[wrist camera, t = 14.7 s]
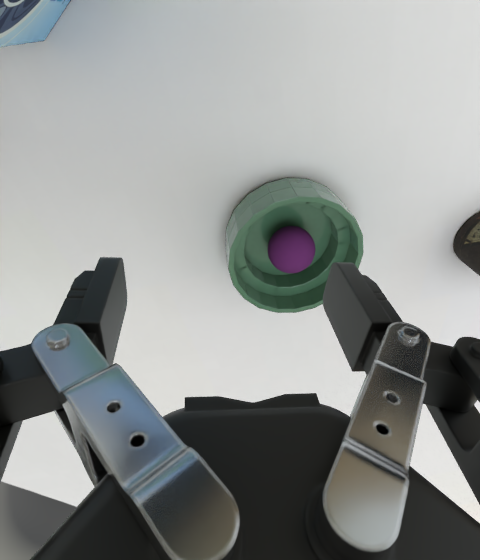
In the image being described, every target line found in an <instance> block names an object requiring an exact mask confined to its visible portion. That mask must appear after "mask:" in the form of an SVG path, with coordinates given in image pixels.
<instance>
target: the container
mask: <svg viewBox="0 0 480 560" xmlns="http://www.w3.org/2000/svg"><path fill="white" fill-rule="evenodd" d="M454 251H455V254H456V255H457V257H458V258H459V259H460V260H461V261H463V262H464V263H465V264H466V265H467V266H468V267H470V268H471V269H472V270H473V271H474V272H476V273H477V274H478V275H479V276H480V212H479V213H477V214H476V215H474V216H473V217H472V218H470V219H469V220H468V221H467V222H466V223H465V224H464V225H463V226H462V228H461V229H460V230H459V232H458V233H457V235H456V238H455V241H454Z"/></svg>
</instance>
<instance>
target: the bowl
mask: <svg viewBox="0 0 480 560" xmlns="http://www.w3.org/2000/svg"><path fill="white" fill-rule="evenodd" d="M286 226H297V227H300V228H303V229H305V230H306V231H307V232H308V233H309V234H310V235H311V236H312V238H313V240H314V243H315V256H314V259H313V261H312V262H311V264H310V265H309V266H308V267H307V268H306V269H304V270H303V271H301V272H298V273H285V272H282V271H280V270H278V269H277V268H276V267H274V265H273V264H272V263H271V261H270V259H269V256H268V243H269V241H270V238H271V237H272V235H273V234H274V233H275V232H276V231H277V230H279V229H281V228H283V227H286ZM225 246H226V254H227V262H228V270H229V273H230V276H231V279H232V282H233V285H234V287H235V288H236V289H237V290H238V292H239V293H240V294H241V295H242V297H243V298H244V299H245V300H247V301H249V302H250V303H252V304H254V305H255V306H257V307H258V308H261V309H265V310H269V311H273V312H277V313H295V312H300V311H304V310H308V309H312V308H315V307H317V306H319V305H321V304H323V294H324V290H325V286H326V283H327V279H328V275H329V272H330V268H331V266H332V264H333V263H334V262H342V263H354V264H355V266H356V267H357V269H358V268H359V265H360V262H361V259H362V256H363V235H362V232H361V230H360V228H359V226H358V224H357V221H356V219H355V218H354V216H353V215H352V214H351V213H350V211H349V210H348V209H347V208H346V206H345V205H344V204H343V203H342V202H341V200H340V199H339V198H338V197H337V196H336V195H335V194H334V193H333V192H332V191H330V190H329V189H328V188H327V187H326V186H324V185H322V184H319V183H317V182H314V181H312V180H309V179H299V178H285V179H281V180H277V181H274V182H270V183H266V184H264V185H263V186H261V187H259V188H258V189H256V190H255V191H253V192H251V193H250V194H248V195H247V196H246V197H245V198H244V199H243V201H242V202H241V203H240V204H239V205H238V206H237V207H236V208H235V210H234V211H233V214H232V216H231V218H230V221H229V223H228V225H227V228H226V242H225Z"/></svg>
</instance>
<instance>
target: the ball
mask: <svg viewBox="0 0 480 560" xmlns="http://www.w3.org/2000/svg"><path fill="white" fill-rule="evenodd" d="M268 256H269V259H270V261H271V263H272V264H273V265H274V267H276V268H277V269H278V270H280V271H282V272H285V273H298V272H301V271H303V270H304V269H306V268H307V267H308V266H309V265H310V264H311V262H312V261H313V259H314V256H315V243H314V240H313V238H312V236H311V235H310V234H309V233H308V232H307V231H306V230H305V229H303V228H300V227H297V226H286V227H283V228H281V229H279V230H277V231H276V232H275V233H274V234H273V235H272V237H271V238H270V241H269V243H268Z"/></svg>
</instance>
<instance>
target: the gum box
mask: <svg viewBox="0 0 480 560" xmlns="http://www.w3.org/2000/svg"><path fill="white" fill-rule="evenodd" d="M69 2H70V0H0V47H5V46H10V45H18V44H24V43H31V42H38V41H44V40H45V39H46V37H47V36H48V34H49V32H50V31H51V29H52V28H53V26H54V25H55V23H56V22H57V20H58V19H59V17H60V16H61V14H62V13H63V11H64V9H65V8H66V6H67V5H68V3H69Z"/></svg>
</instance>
